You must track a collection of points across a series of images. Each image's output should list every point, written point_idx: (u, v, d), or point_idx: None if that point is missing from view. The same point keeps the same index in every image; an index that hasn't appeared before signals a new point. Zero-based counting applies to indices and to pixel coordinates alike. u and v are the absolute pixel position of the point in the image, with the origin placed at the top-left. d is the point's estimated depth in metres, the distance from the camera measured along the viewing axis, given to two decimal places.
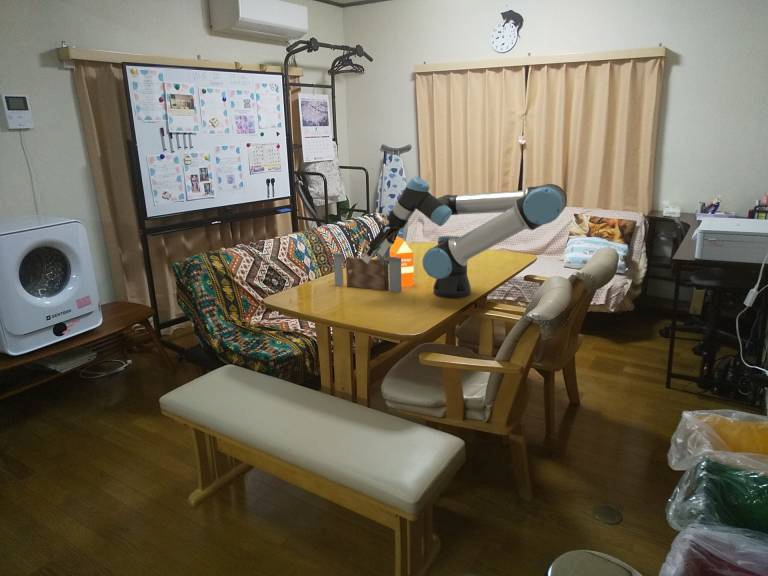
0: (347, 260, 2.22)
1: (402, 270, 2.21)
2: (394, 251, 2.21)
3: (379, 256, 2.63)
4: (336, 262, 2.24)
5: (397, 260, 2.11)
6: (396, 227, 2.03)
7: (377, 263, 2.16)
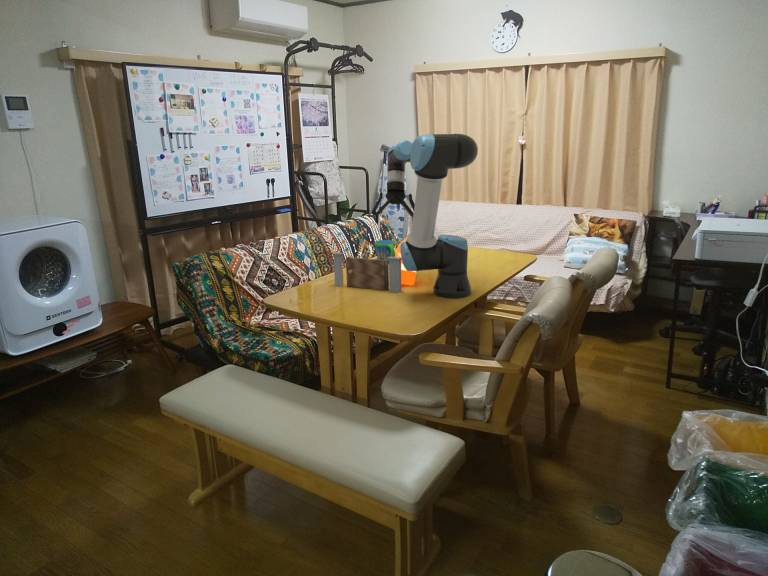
0: (347, 260, 2.22)
1: None
2: None
3: (379, 256, 2.63)
4: (336, 262, 2.24)
5: (397, 260, 2.11)
6: (398, 194, 2.24)
7: (377, 263, 2.16)
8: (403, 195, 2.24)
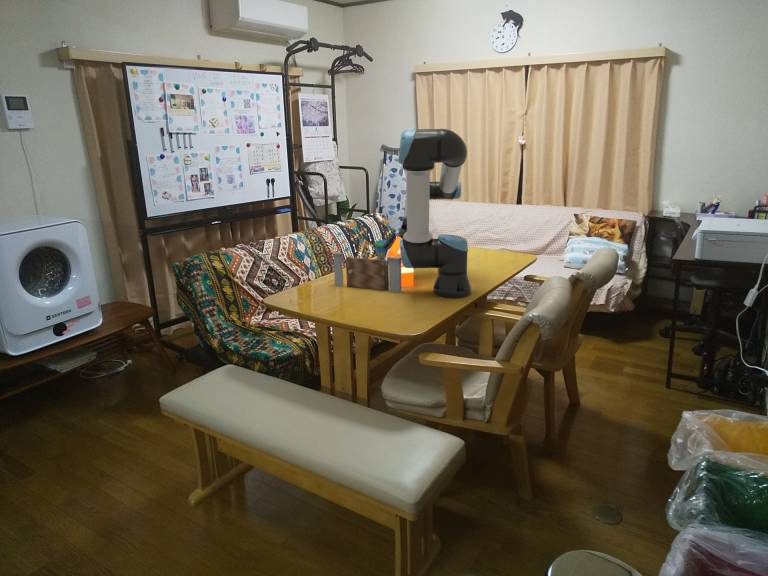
0: (347, 260, 2.22)
1: (402, 270, 2.21)
2: (394, 251, 2.21)
3: (379, 256, 2.63)
4: (336, 262, 2.24)
5: (397, 260, 2.11)
6: None
7: (377, 263, 2.16)
8: None
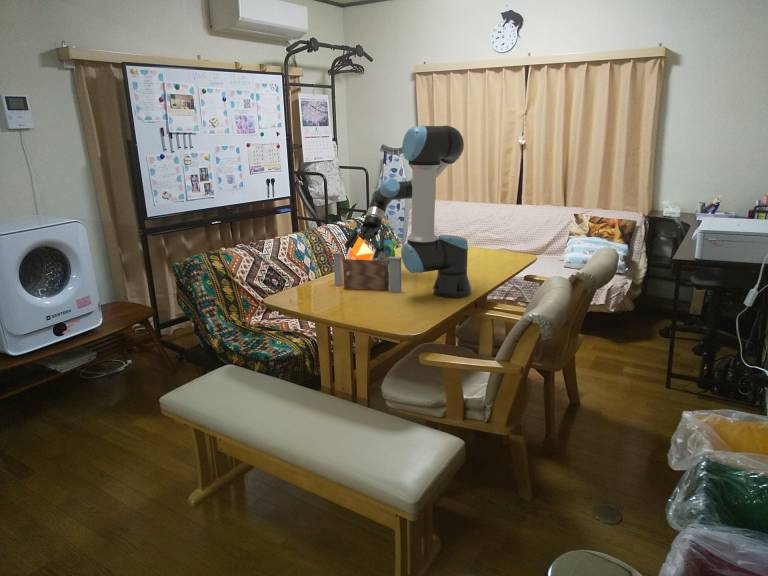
0: (344, 262, 2.18)
1: None
2: (355, 252, 2.20)
3: (379, 256, 2.63)
4: (336, 262, 2.24)
5: (397, 260, 2.11)
6: (372, 228, 2.26)
7: (376, 264, 2.16)
8: (375, 229, 2.25)
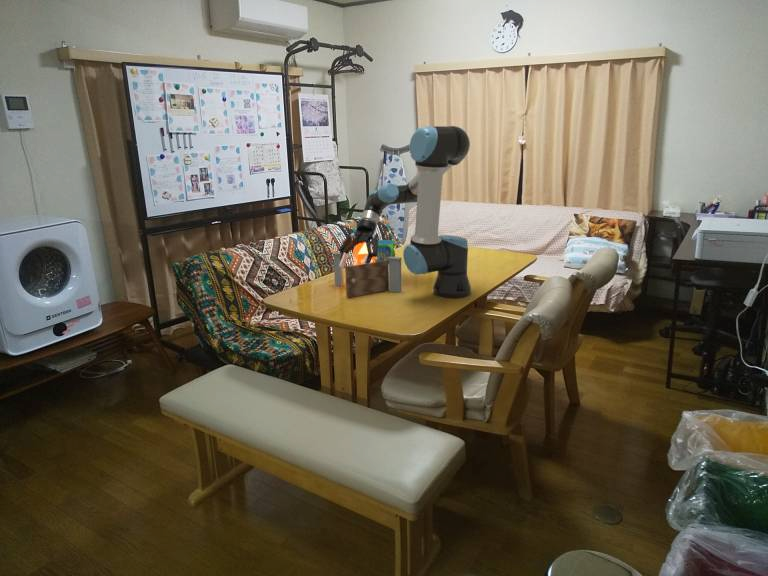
0: (348, 269, 2.06)
1: None
2: (356, 252, 2.21)
3: (379, 256, 2.63)
4: (336, 262, 2.24)
5: (397, 260, 2.11)
6: (366, 232, 2.20)
7: (378, 265, 2.13)
8: (370, 233, 2.19)
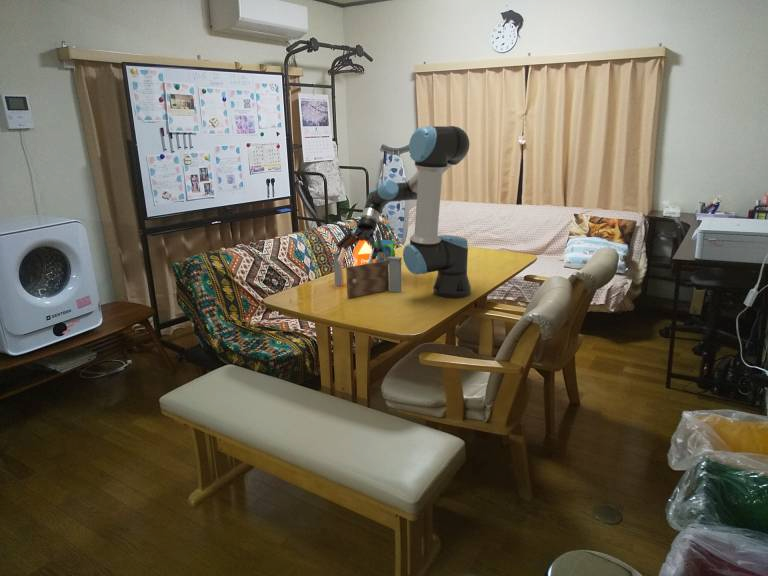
0: (349, 270, 2.06)
1: None
2: (356, 252, 2.21)
3: (379, 256, 2.63)
4: (336, 262, 2.24)
5: (397, 260, 2.11)
6: None
7: (379, 265, 2.13)
8: (371, 231, 2.20)
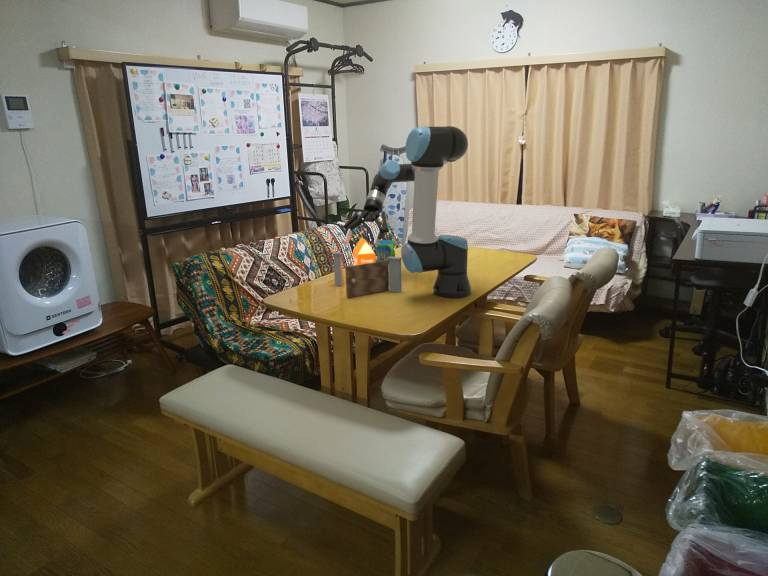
0: (348, 269, 2.06)
1: None
2: (356, 252, 2.21)
3: (379, 256, 2.63)
4: (336, 262, 2.24)
5: (397, 260, 2.11)
6: (372, 212, 2.25)
7: (378, 265, 2.13)
8: (376, 212, 2.24)
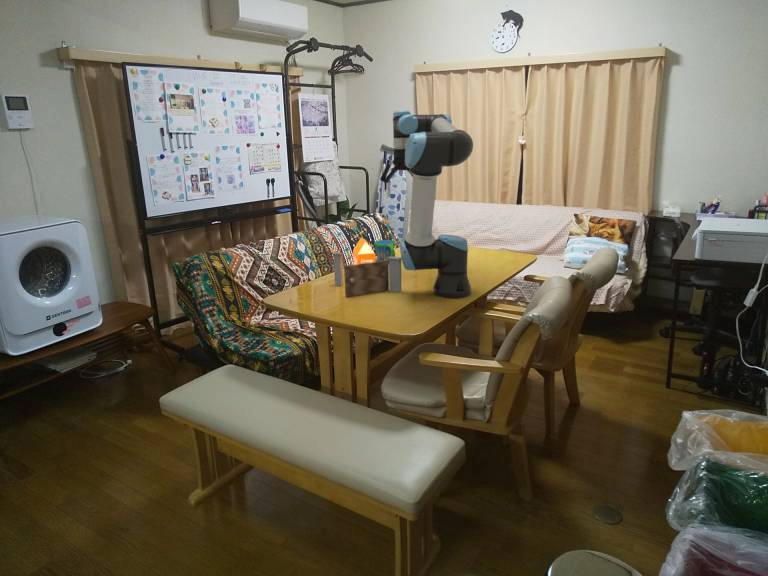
0: (347, 269, 2.07)
1: None
2: (356, 252, 2.21)
3: (379, 256, 2.63)
4: (336, 262, 2.24)
5: (397, 260, 2.11)
6: (404, 161, 2.29)
7: (378, 265, 2.13)
8: None
